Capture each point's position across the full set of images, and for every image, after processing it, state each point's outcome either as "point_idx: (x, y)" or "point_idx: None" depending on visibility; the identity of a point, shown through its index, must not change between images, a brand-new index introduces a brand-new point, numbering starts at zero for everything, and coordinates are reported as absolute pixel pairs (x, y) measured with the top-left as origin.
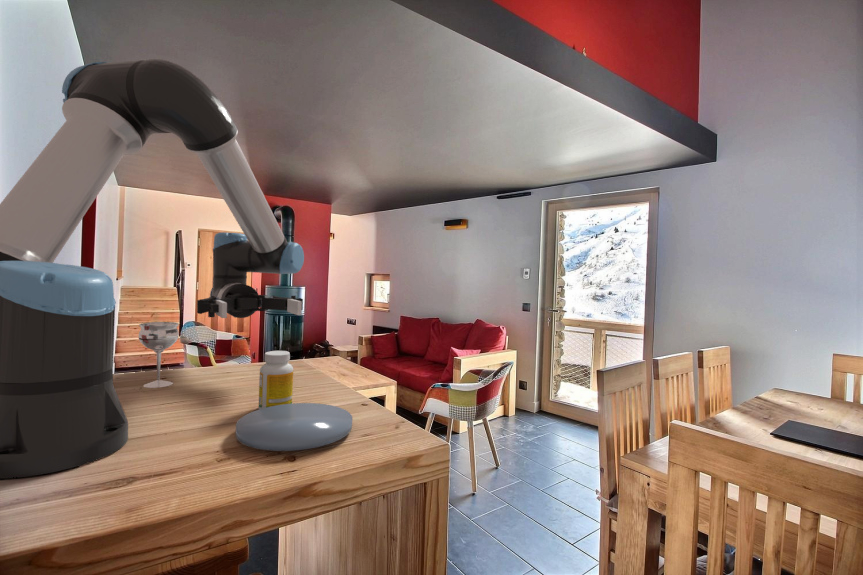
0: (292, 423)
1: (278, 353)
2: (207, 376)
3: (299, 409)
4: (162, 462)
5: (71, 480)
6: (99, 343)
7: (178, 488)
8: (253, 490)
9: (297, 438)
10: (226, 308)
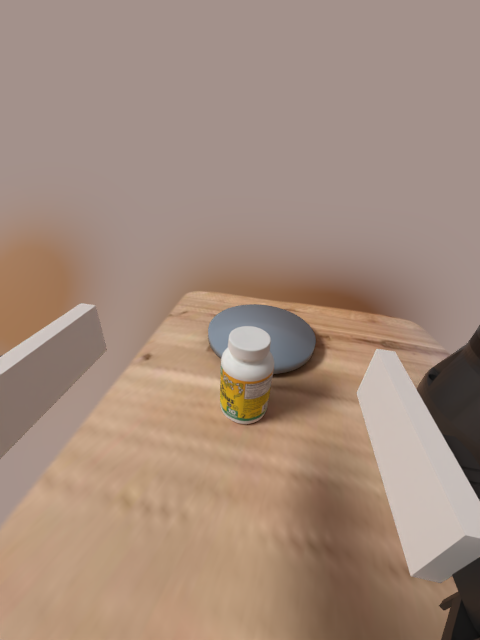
0: (268, 326)
1: (249, 334)
2: None
3: None
4: (369, 353)
5: (427, 361)
6: None
7: (352, 324)
8: (313, 307)
9: (277, 310)
10: (370, 367)
